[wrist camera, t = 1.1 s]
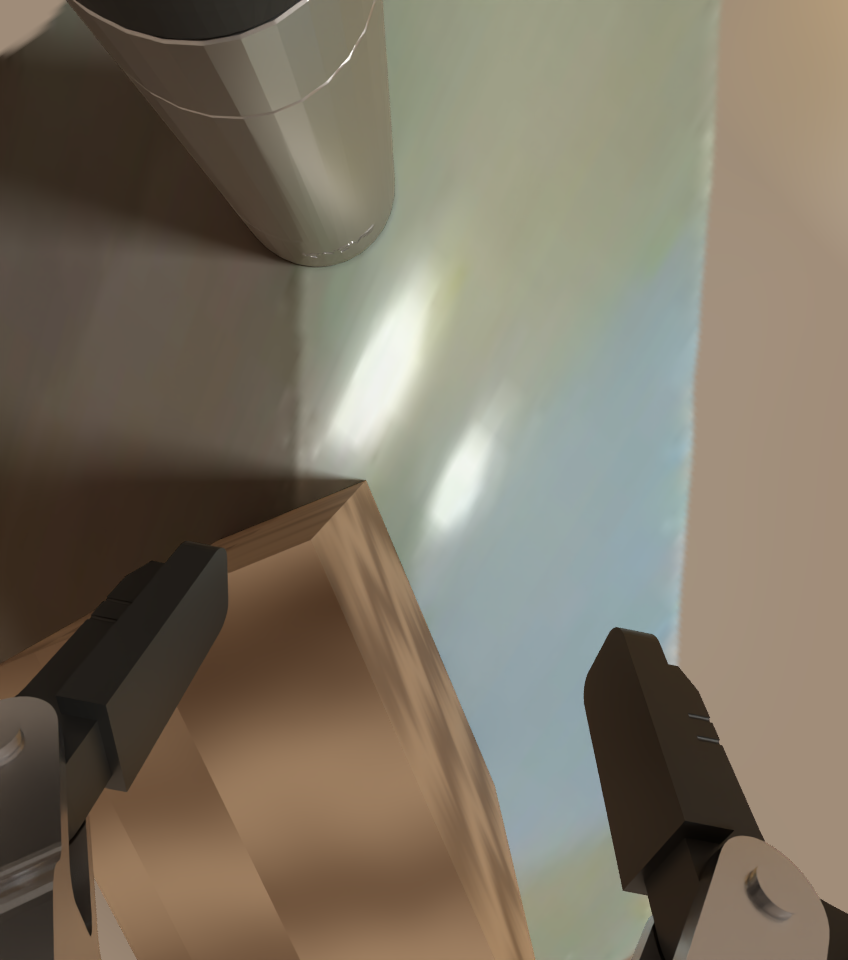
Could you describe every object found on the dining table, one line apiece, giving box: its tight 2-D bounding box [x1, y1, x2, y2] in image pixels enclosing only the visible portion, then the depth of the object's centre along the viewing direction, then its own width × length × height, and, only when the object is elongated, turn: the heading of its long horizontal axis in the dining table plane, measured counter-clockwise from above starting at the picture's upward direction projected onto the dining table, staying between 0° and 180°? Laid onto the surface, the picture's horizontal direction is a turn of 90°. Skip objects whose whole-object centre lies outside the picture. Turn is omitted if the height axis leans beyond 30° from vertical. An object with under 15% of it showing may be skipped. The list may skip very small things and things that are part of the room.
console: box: [0, 480, 535, 960], centre depth 24 cm, size 22×10×17 cm, turn 22°
